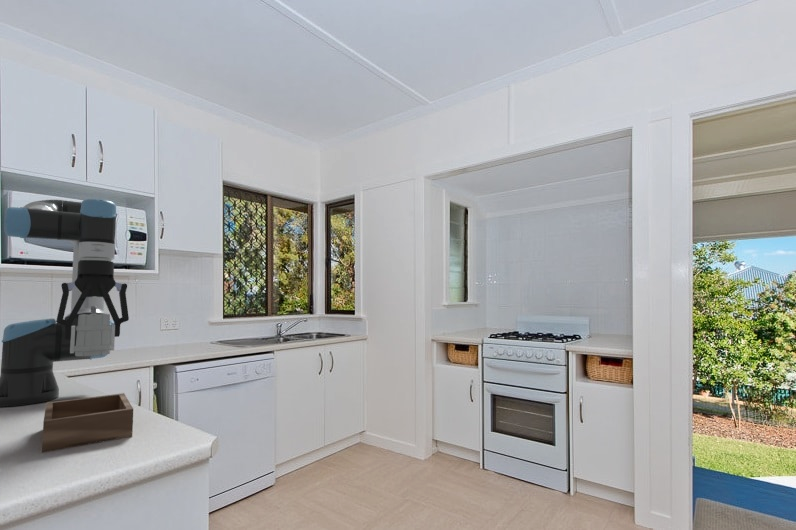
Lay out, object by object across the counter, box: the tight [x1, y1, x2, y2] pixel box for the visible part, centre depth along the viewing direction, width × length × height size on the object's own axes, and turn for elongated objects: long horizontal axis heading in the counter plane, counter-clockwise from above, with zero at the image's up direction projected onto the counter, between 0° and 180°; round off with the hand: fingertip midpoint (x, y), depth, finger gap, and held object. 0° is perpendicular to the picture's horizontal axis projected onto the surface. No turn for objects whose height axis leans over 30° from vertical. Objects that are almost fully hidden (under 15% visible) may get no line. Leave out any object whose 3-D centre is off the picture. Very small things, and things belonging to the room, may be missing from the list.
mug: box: [74, 306, 112, 356], centre depth 107 cm, size 8×12×12 cm, turn 38°
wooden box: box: [41, 392, 134, 453], centre depth 97 cm, size 18×15×6 cm
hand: (92, 351), depth 107 cm, fingers closed on mug, 7 cm apart
